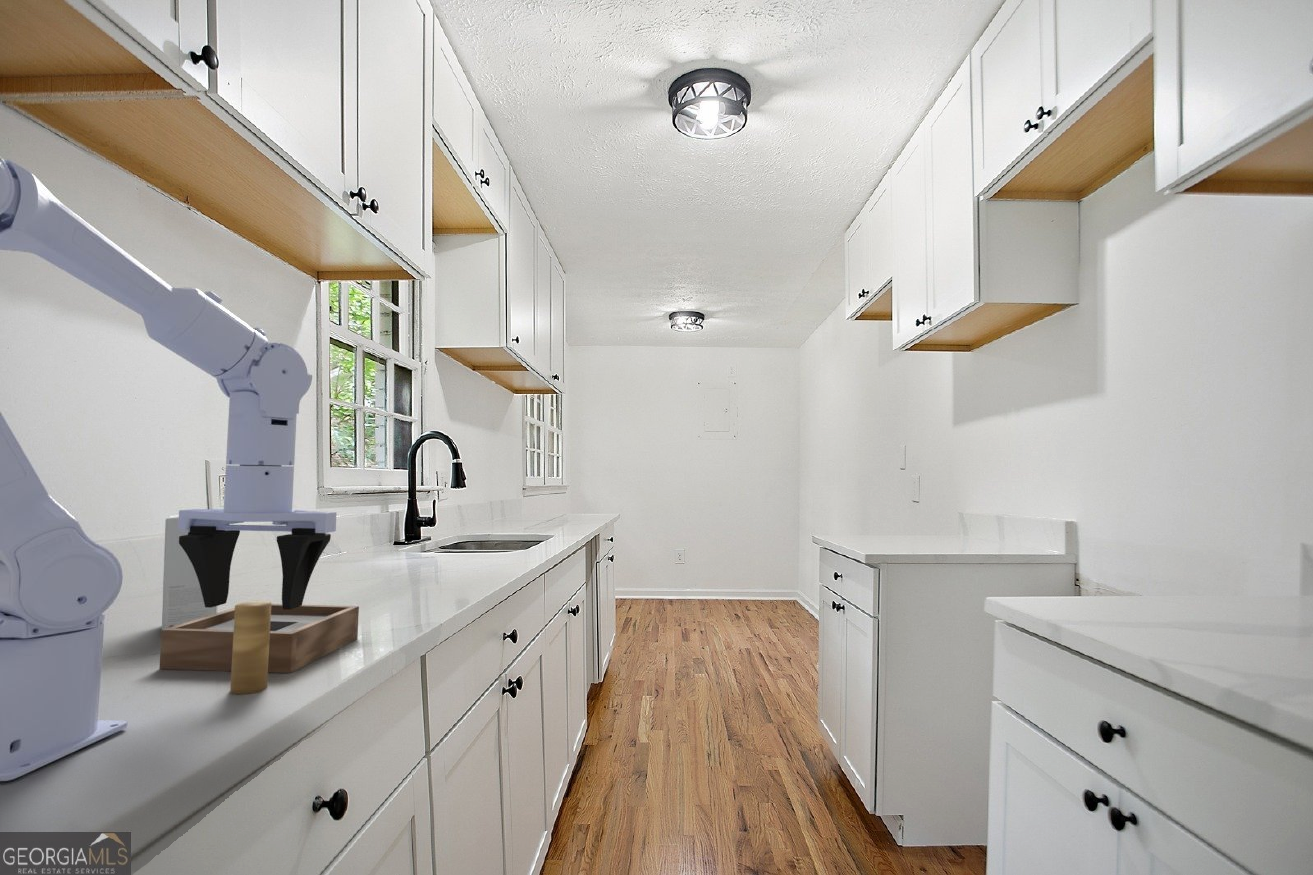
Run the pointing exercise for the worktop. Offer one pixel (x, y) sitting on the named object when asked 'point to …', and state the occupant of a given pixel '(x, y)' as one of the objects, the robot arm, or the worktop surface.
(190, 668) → the tray
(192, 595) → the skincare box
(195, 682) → the worktop surface
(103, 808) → the worktop surface
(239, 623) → the peg
